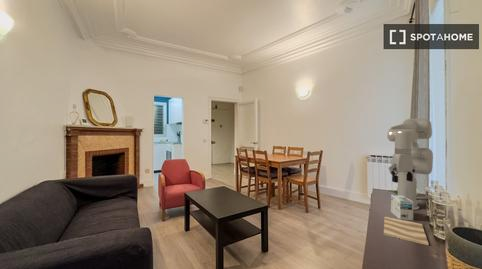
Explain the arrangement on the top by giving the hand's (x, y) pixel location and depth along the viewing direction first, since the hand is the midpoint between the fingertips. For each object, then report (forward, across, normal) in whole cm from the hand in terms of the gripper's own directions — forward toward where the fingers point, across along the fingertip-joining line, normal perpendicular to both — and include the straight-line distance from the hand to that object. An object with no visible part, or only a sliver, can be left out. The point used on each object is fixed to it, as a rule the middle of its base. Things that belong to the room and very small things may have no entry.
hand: (402, 181), depth 120 cm
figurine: (+21, -25, -26) cm, 42 cm away
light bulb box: (+20, 0, 0) cm, 20 cm away
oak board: (+20, +14, +14) cm, 28 cm away
